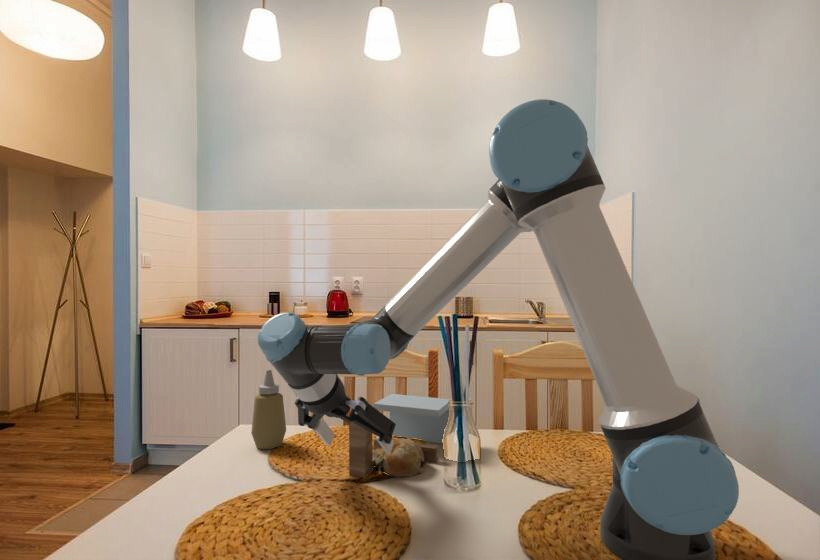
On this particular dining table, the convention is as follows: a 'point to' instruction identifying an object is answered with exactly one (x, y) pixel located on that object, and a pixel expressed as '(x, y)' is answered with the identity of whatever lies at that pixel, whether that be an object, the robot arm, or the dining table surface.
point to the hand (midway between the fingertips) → (359, 444)
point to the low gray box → (416, 416)
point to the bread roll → (401, 459)
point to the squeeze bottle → (268, 415)
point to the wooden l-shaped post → (365, 458)
